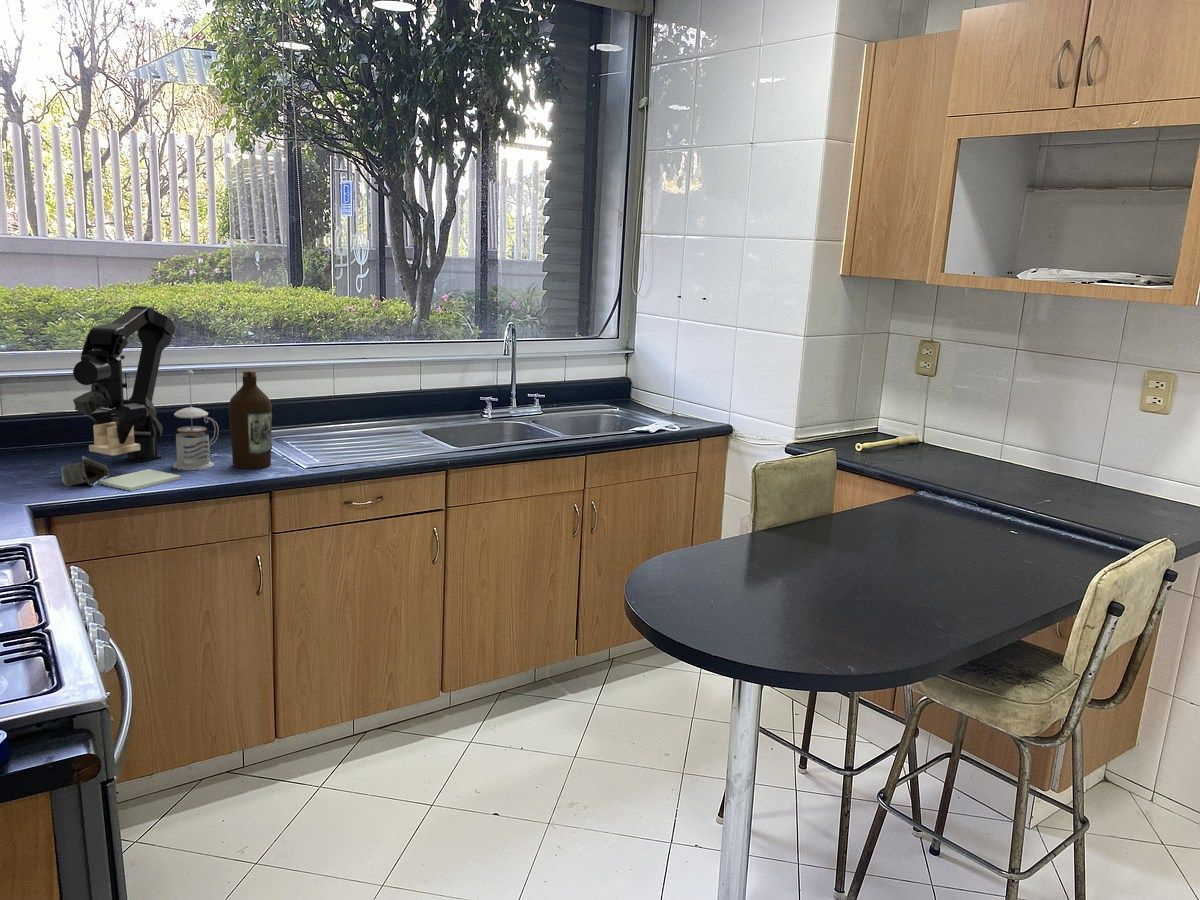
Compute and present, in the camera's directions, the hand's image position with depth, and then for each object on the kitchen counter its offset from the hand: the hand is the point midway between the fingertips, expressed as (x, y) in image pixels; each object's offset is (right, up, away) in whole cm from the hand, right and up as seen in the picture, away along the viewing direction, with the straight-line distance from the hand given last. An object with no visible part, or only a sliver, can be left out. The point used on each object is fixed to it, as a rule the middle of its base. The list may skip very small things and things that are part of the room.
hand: (113, 441), depth 221 cm
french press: (+15, -6, +12) cm, 20 cm away
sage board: (+10, -10, -6) cm, 15 cm away
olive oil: (+29, -6, +15) cm, 33 cm away
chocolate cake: (-2, -10, -8) cm, 13 cm away
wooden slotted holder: (0, -2, +1) cm, 2 cm away
